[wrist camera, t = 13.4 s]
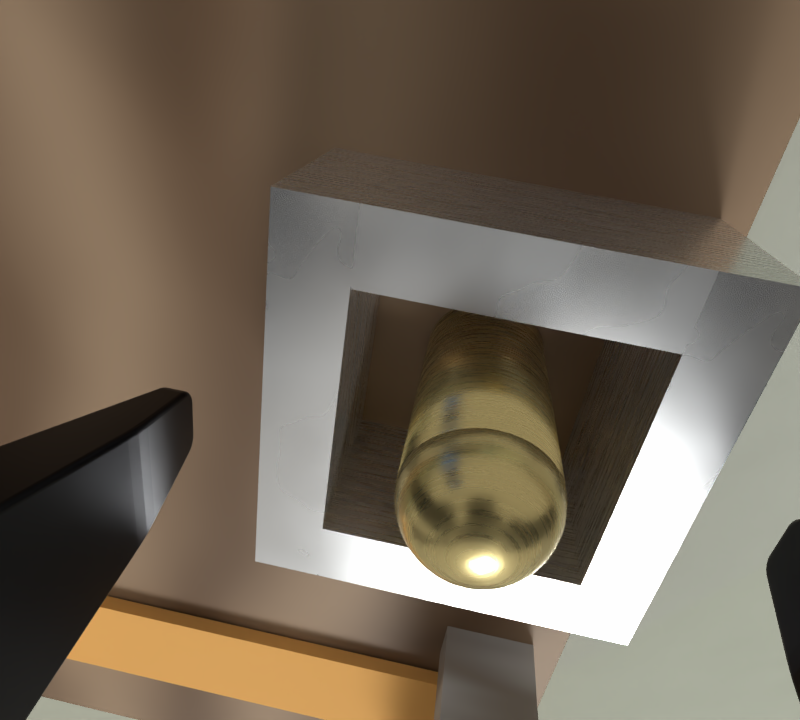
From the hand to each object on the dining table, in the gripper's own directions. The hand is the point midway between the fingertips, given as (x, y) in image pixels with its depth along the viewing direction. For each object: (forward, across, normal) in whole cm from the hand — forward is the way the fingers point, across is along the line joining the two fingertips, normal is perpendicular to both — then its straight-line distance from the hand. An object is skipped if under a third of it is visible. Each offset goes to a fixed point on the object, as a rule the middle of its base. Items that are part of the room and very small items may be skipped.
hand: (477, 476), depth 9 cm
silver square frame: (+4, 0, 0) cm, 4 cm away
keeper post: (+4, 0, 0) cm, 4 cm away
